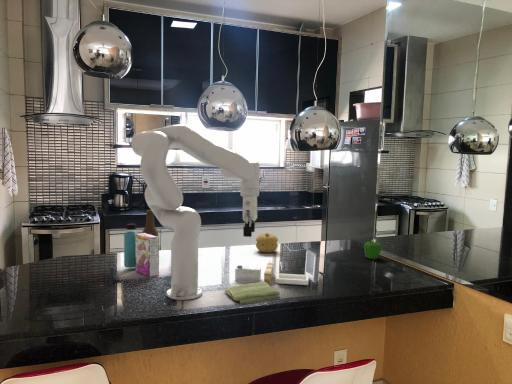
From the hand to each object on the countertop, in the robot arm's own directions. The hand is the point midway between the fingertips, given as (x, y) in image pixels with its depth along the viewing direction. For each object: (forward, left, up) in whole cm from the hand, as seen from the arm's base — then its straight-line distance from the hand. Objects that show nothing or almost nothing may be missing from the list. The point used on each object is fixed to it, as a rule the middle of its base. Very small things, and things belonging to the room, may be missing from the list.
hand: (249, 234), depth 163 cm
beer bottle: (+21, +50, -19) cm, 57 cm away
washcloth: (-18, -4, -19) cm, 27 cm away
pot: (+50, -3, -19) cm, 53 cm away
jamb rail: (+1, -8, -19) cm, 21 cm away
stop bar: (0, 0, -19) cm, 19 cm away
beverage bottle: (+5, +52, -19) cm, 56 cm away
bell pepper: (+47, -57, -19) cm, 76 cm away
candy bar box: (0, +43, -19) cm, 47 cm away
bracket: (+1, -18, -19) cm, 26 cm away
